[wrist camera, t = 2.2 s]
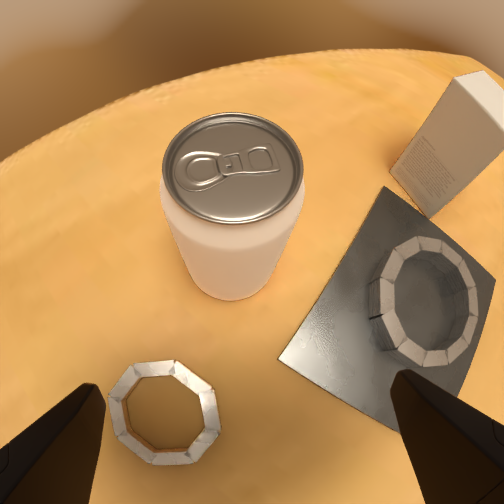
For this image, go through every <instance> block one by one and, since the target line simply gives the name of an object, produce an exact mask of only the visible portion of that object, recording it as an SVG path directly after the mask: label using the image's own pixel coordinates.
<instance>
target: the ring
mask: <svg viewBox="0 0 504 504" xmlns="http://www.w3.org/2000/svg"><path fill="white" fill-rule="evenodd" d="M163 375H172V376H174V377H175V378H176V379H178V380H179V381H180V382H182V383H183V384H184V385H185V386H187V387H188V388H189V389H191V390H192V391H194V392H195V393H196V394H198V395H199V396H200V402H201V407H202V413H203V418H204V423H205V428H204V429H203V430H202V431H201V433H200V434H199V435H198V436H197V437H196V439H195V440H194V441H193V442H192V443H191V445H190V446H189V447H188V448H176V449H156V448H154V447H153V446H152V445H150V444H149V443H148V442H146V441H145V440H144V439H143V438H141V437H140V436H139V435H138V434H136V433H135V432H134V431H133V430H131V426H130V421H129V416H128V410H127V405H126V398H127V397H128V396H129V394H130V393H131V392H132V390H133V389H134V388H135V386H136V385H137V384H138V383H139V381H140V380H141V379H142V377H150V376H163ZM211 387H212V385H211V384H209V383H208V382H207V381H205V380H204V379H202V378H201V377H200V376H198V375H197V374H196V373H194V372H193V371H192V370H190V369H189V368H188V367H186V366H185V365H184V364H183V363H181V362H180V361H176V360H168V361H157V362H144V363H133V365H130V366H129V367H128V369H127V370H126V371H125V373H124V374H123V375H122V377H121V378H120V379H119V381H118V382H117V383H116V385H115V386H114V387H113V389H112V390H111V391H110V393H109V394H108V395H110V396H111V397H108V402H109V408H110V414H111V419H112V424H113V429H114V433H115V436H118V437H117V439H118V440H119V441H120V442H122V443H123V444H124V445H125V446H126V447H128V448H129V449H130V450H131V451H133V452H134V453H135V454H137V455H138V456H139V457H140V458H142V459H143V460H144V461H146V462H147V463H148V464H150V463H151V462H152V465H181V464H193V463H194V462H197V461H198V460H199V458H200V457H201V456H202V455H203V454H204V452H205V451H206V450H207V449H208V448H209V446H210V445H211V444H212V443H213V442H214V440H215V439H216V438H217V437H218V435H219V434H220V432H221V422H220V417H219V412H218V406H217V401H216V395H215V389H211Z"/></svg>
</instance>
